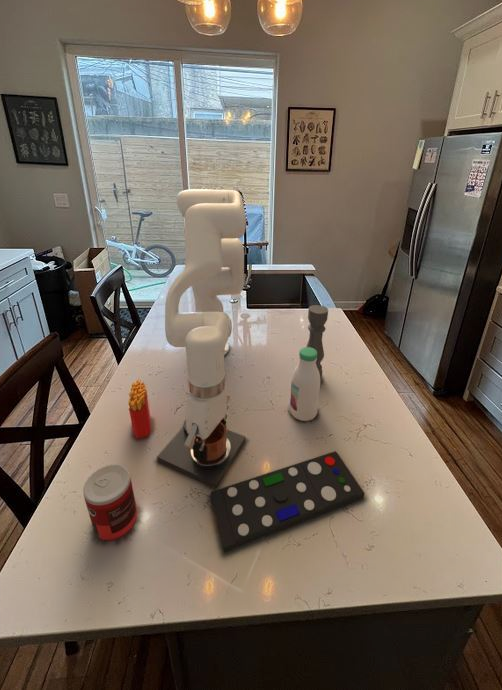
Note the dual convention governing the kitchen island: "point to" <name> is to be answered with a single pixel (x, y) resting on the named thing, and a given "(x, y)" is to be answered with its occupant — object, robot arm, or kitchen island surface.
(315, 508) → the remote control
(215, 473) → the scale
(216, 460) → the scale pan
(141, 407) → the french fries
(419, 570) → the kitchen island surface
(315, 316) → the pepper mill
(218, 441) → the bowl
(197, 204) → the robot arm
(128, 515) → the canned food
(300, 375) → the milk bottle
